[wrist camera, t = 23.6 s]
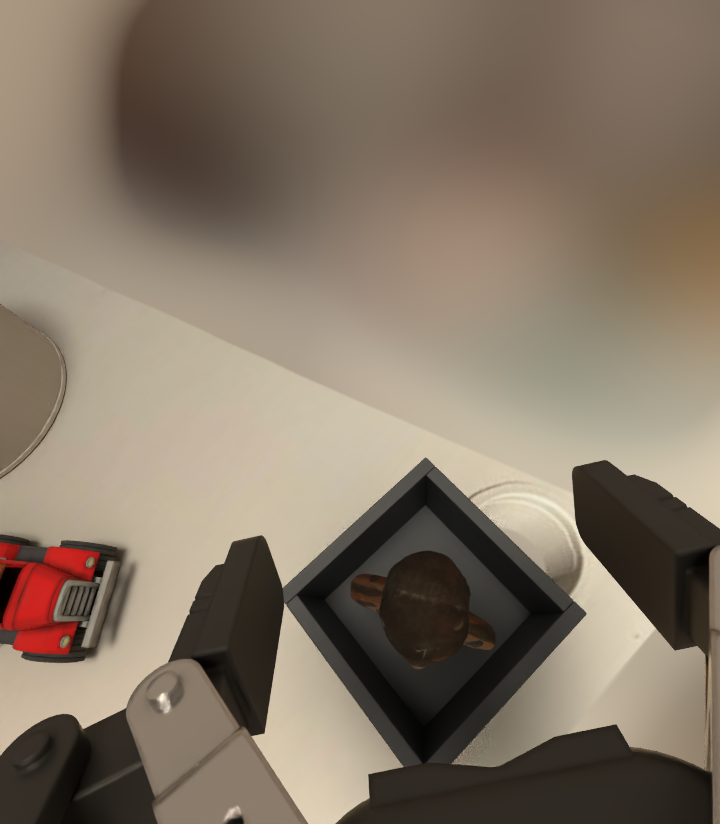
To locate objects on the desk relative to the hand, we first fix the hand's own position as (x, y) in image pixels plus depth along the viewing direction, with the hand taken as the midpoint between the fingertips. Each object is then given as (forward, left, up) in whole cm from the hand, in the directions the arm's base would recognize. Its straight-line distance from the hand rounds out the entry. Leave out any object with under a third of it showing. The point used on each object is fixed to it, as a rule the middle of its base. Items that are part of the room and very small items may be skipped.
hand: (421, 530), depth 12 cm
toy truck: (+21, +24, -24) cm, 40 cm away
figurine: (-1, +1, -23) cm, 23 cm away
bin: (-1, +1, -24) cm, 24 cm away
